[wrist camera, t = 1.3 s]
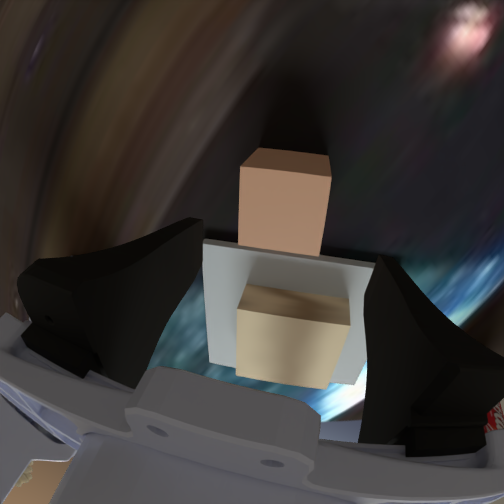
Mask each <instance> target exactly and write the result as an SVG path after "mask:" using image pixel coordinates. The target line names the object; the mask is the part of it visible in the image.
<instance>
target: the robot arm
mask: <svg viewBox="0 0 504 504" xmlns="http://www.w3.org/2000/svg"><path fill="white" fill-rule="evenodd" d="M202 262H203V220H202V219H196V218H191V217H189V218H186V219H183V220H181V221H178V222H176V223H174V224H171V225H169V226H167V227H165V228H162V229H160V230H158V231H156V232H153V233H151V234H149V235H146V236H144V237H141V238H139V239H136V240H134V241H131V242H128V243H125V244H122V245H119V246H116V247H113V248H109V249H105V250H101V251H97V252H93V253H88V254H82V255H77V256H69V257H60V258H45V259H38V260H36V261H35V262H34V263H33V264H32V265H30V266H29V267H28V268H27V269H26V270H25V271H24V272H22V273H21V274H20V276H19V277H18V280H17V287H18V292H19V295H20V298H21V300H22V302H23V304H24V307H25V309H26V311H27V313H28V315H29V321H25V322H24V323H23V322H21V321H20V320H18V319H17V318H15V317H13V316H12V315H10V314H8V313H5V314H4V315H3V316H2V317H1V318H0V504H2V503H3V502H4V500H5V499H6V497H7V496H8V494H9V493H10V491H11V490H12V488H13V487H14V485H15V484H16V482H17V481H18V480H19V478H20V477H21V475H22V474H23V472H24V471H25V469H26V468H27V467H28V465H29V464H30V462H31V461H33V460H42V461H62V462H63V461H69V460H70V458H71V457H73V456H74V455H75V456H74V458H73V459H72V461H71V463H70V465H69V467H68V469H67V470H66V472H65V474H64V476H63V478H62V480H61V482H60V483H59V485H58V487H57V489H56V491H55V493H54V495H53V497H52V499H51V501H50V503H49V504H489V503H492V502H493V501H496V500H498V499H500V498H502V497H504V429H498V430H492V431H489V432H487V433H485V431H484V426H485V425H487V424H488V417H487V413H488V412H489V411H491V410H492V409H493V408H494V407H495V406H496V405H497V404H498V403H499V402H500V401H501V400H502V399H503V398H504V357H502V356H501V355H499V354H497V353H495V352H494V351H492V350H490V349H488V348H487V347H485V346H484V345H482V344H481V343H479V342H478V341H476V340H475V339H473V338H472V337H471V336H469V335H468V334H466V333H465V332H464V331H463V330H461V329H460V328H459V327H458V326H457V325H455V324H454V323H453V322H452V321H451V320H449V319H448V318H447V317H446V316H445V315H444V314H443V313H442V312H441V311H440V310H439V309H438V308H437V307H436V306H435V305H434V304H433V303H432V302H431V301H430V300H429V299H428V298H427V296H426V295H425V294H424V293H423V292H422V291H421V290H420V289H419V287H418V286H417V285H416V284H415V283H414V281H413V280H412V279H411V278H410V277H409V275H408V274H407V273H406V272H405V271H404V269H403V268H402V267H401V266H400V265H399V264H398V262H397V261H396V260H395V259H394V258H393V257H388V256H384V255H378V258H377V261H376V264H375V266H374V269H373V272H372V275H371V277H370V280H369V283H368V285H367V288H366V290H365V293H364V307H363V317H364V328H365V339H366V351H367V381H366V393H365V402H364V410H363V417H362V423H361V429H360V434H359V439H358V443H352V442H341V441H333V440H325V439H319V433H320V424H321V415H319V414H318V413H317V412H316V411H315V410H313V409H312V408H311V407H310V406H309V405H307V404H306V403H305V402H302V401H299V400H296V399H293V398H290V397H287V396H283V395H278V394H274V393H269V392H264V391H260V390H255V389H251V388H247V387H243V386H239V385H235V384H231V383H227V382H223V381H219V380H216V379H212V378H209V377H205V376H202V375H198V374H195V373H191V372H188V371H185V370H182V369H176V368H170V367H164V366H159V367H155V368H152V369H149V370H146V369H147V367H148V364H149V362H150V359H151V357H152V354H153V352H154V350H155V347H156V345H157V343H158V341H159V338H160V336H161V334H162V332H163V330H164V328H165V326H166V324H167V322H168V320H169V319H170V317H171V315H172V314H173V312H174V311H175V309H176V308H177V306H178V304H179V303H180V301H181V300H182V298H183V297H184V295H185V294H186V292H187V291H188V289H189V287H190V286H191V284H192V283H193V281H194V280H195V277H196V275H197V273H198V271H199V269H200V267H201V264H202Z"/></svg>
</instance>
